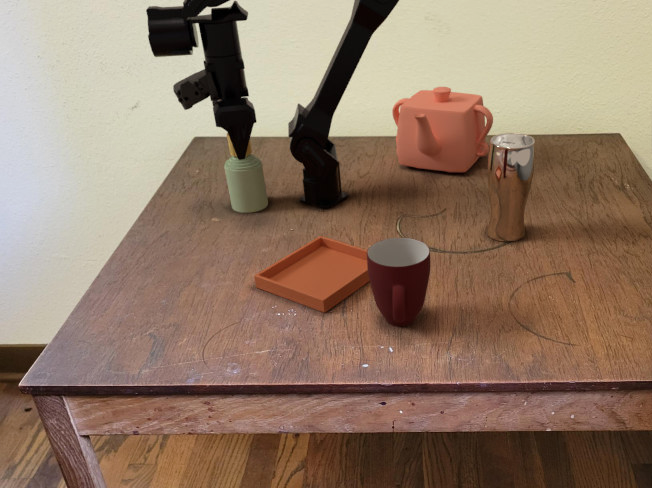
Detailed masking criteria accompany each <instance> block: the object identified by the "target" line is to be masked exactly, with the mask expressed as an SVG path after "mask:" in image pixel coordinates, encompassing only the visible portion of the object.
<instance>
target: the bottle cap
mask: <svg viewBox="0 0 652 488" xmlns="http://www.w3.org/2000/svg"><path fill="white" fill-rule="evenodd" d="M226 138H227V144H228V150H229V155H230V156H235V157H237V155H236V152H235V150H234V147H233V145H232V142H231V139H230V137H229V134H228V132H226ZM252 153H253V148H252V143H251V139H250V140H249V144H248V148H247V152H246V156H247V155H250V154H252Z"/></svg>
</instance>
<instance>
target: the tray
mask: <svg viewBox="0 0 652 488" xmlns="http://www.w3.org/2000/svg"><path fill="white" fill-rule="evenodd" d="M367 251H368V249H366V248H363V247H359V246H355V245H353V244H349V243H347V242H343V241H339V240H336V239H333V238H329V237H326V236H323V235H319V236H317V237H316V238H314V239H312V240H311V241H309V242H308V243H306V244H304V245H302V246H300V247H299V248H298V249H296V250H294V251H293V252H291V253H289V254H287V255H286V256H284V257H283V258H281V259H279V260H277V261H276V262H274V263H273V264H271V265H268V266H267V267H266V268H264V269H262V270H260V271H259V272H258V273H256V274H254V275H253V277H254V283H255V288H257V289H259V290H262V291H264V292H267V293H270V294H273V295H276V296H278V297H280V298H283V299H287V300H289V301H292V302H294V303H297V304H299V305H303V306H305V307H307V308H310V309H312V310H316V311H318V312H321V313H327V312H328V311H329V310H331V309H332V308H333V307H335V306H336V305H338V304H340V303H341V302H342V301H344V300H345V299H346V298H348V297H349V296H350V295H352V294H354V293H355V292H356V291H358V290H359V289H361V288H362V287H363V286H365V285H366V284H368V283H370V279H369V275H368V268H367Z"/></svg>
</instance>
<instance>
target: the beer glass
mask: <svg viewBox="0 0 652 488" xmlns="http://www.w3.org/2000/svg"><path fill="white" fill-rule="evenodd" d="M535 142H536V140H535V139H534V137H533V136H530V135H529V134H525V133H519V132H504V133H499V134H496V135H494V136H492V137H491V138H490V140H489V152H488V157H487V158H488V159H487V174H486V175H487V176H486V177H487V187H488V195H489V203H490V218H489V221H488V222H489V224H488V226H487V230H486V233H487V236H488V237H489V238H491V239H492V240H494V241H498V242H503V243H504V242H505V243H506V242H507V243H508V242H516V241H519V240H522V239H523V238H524V237H525V235H526V226H525V210H526V206H527V202H528V197H529V194H530V191H531V186H532V183H533V179H534V178H533V177H534V170H535Z"/></svg>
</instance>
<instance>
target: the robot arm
mask: <svg viewBox="0 0 652 488" xmlns="http://www.w3.org/2000/svg"><path fill="white" fill-rule="evenodd" d="M230 1H231V0H183V2H182V5H175V6H159V5H152V6H151V5H149V6H148V7H147V8H146V10H145V12H146V16H147V30H148V34H147V38H148V42H149V46H150V49H151V53H152V54H153V57H154V58H164V57H182V56H193V55H194V49H195V48H199V44H200V43H199V35H198V30H197V24H198V29H199V34H200V40H201V44H202V49H203V55H204V60H203V65H204V68H203V69H201V70H200V71H197V72H194V73H193V74H191V75H190V74H189V76H187V77H185V78H183V79H181V80H179V81H177V82H176V83H174V84H173V86H172V89H173V93H174V95H175V97H176V98H177V101H178V102H179V104H181V106H182V108H183V109H184V111H187V110H190V109H192V108H193V107H194V106H195V105H197V104H199V103H200V102H202V101H204V100H206V99H208V98H210V101H211V103H212V104H211V105H212V112H213V117H214V122H215V127H216V128H220V129H223V130H224V131H226V133H228V134H229V137H230V139H231V142H232V145H233V147H234V150H235V152H236V155H237V157H238V159H239V160H243V159H245V156H246V152H247V148H248V144H249V140H250V141H251V136H252V132H253V129H254V124H257V116H256V110H255V106H254V104H253V102H252V101H250V100H249V98H248V97H250V93H249V89H248V86H247V80H246V79H247V78H246V73H245V69H246V68H245V62H244V58H243V53H242V47H241V41H240V36H239V35H240V34H239V29H238V22H244V21H247V20H248V17H249V11H247V10H246V9H244V8H243V7H242V6H241V5H240V4H239V3H238V0H233V2H232V4H231V5H230V6H227V7H225V6H224V7H219V6H222V5H224V4H225V3H228V2H230ZM399 2H400V0H354V2H353V6H352V10H351V15H350V19H349V21H348V23H347V25H346V27H345V29H344V31H343V33H342V36H341V37H340V40H339V43H338V45H337V47H336V49H335V51H334V53H333V55H332V57H331V59H330V61H329V64H328V66H327V68H326V70H325V72H324V74H323V77H322V78H321V81H320V83H319V85H318V88H317V89H316V91H315V93H314V96H313V98H312V99H311V101H310V102H309V103H308V104H307V105H306V106H304V105H302V104H301V103H297V106H296V109H295V113H294V116H293V118H292V119H291V120H290V121H289V122H288V123H287V124H288V125H287V126H288V128H287V129H288V132H287V133H288V134H287V135H288V138H289V151H290V154H291V156H292V157H293V159H294V160H296V161H297V162H299V163H300V164H302V166H303V168H302V176H303V178H302V186H303V193H304V194H303V196H302V197H300V198H299V202H300V203H303V204H307V205H311V206H314V207H317V208H321V209H325V210H327V209H330V208H332V207H334V206H335V205H337V204H339V203H340V202H342V201H344V200H346V199H347V198H349V193H347V192H344V191H343V190H342V179H341V168H340V161H339V159H338V153H337V146H336V144H335V143H334V142H333V141H332V140H330V139H329V137H330V136H329V135H330V133H331V132H330V131H331V127H332V122H333V118H334V115H335V112H336V111H337V108H338V106H339V104H340V102H341V101H342V98H343V96H344V94H345V92H346V90H347V88H348V85H349V84H350V81H352V80H351V79H352V77H353V75H354V74H355V71H356V69H357V67H358V66H359V63H360V61H361V59H362V57H363V55H364V53H365V50H366V49H367V47H368V45H369V42H370V40H371V38H372V36H373V34H375V32H376V31H377V30H378V29H379V28H380V27H381V25H382V24H384V22H385V21H386V20H387V18H388V17H389V16H390V14H391V13H392V11H393V10H394V9H395V7H396V6H397V4H398V3H399ZM206 8H211V9H210V13H209V14H201V13H202V12H203V11H204V10H205V9H206Z"/></svg>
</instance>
